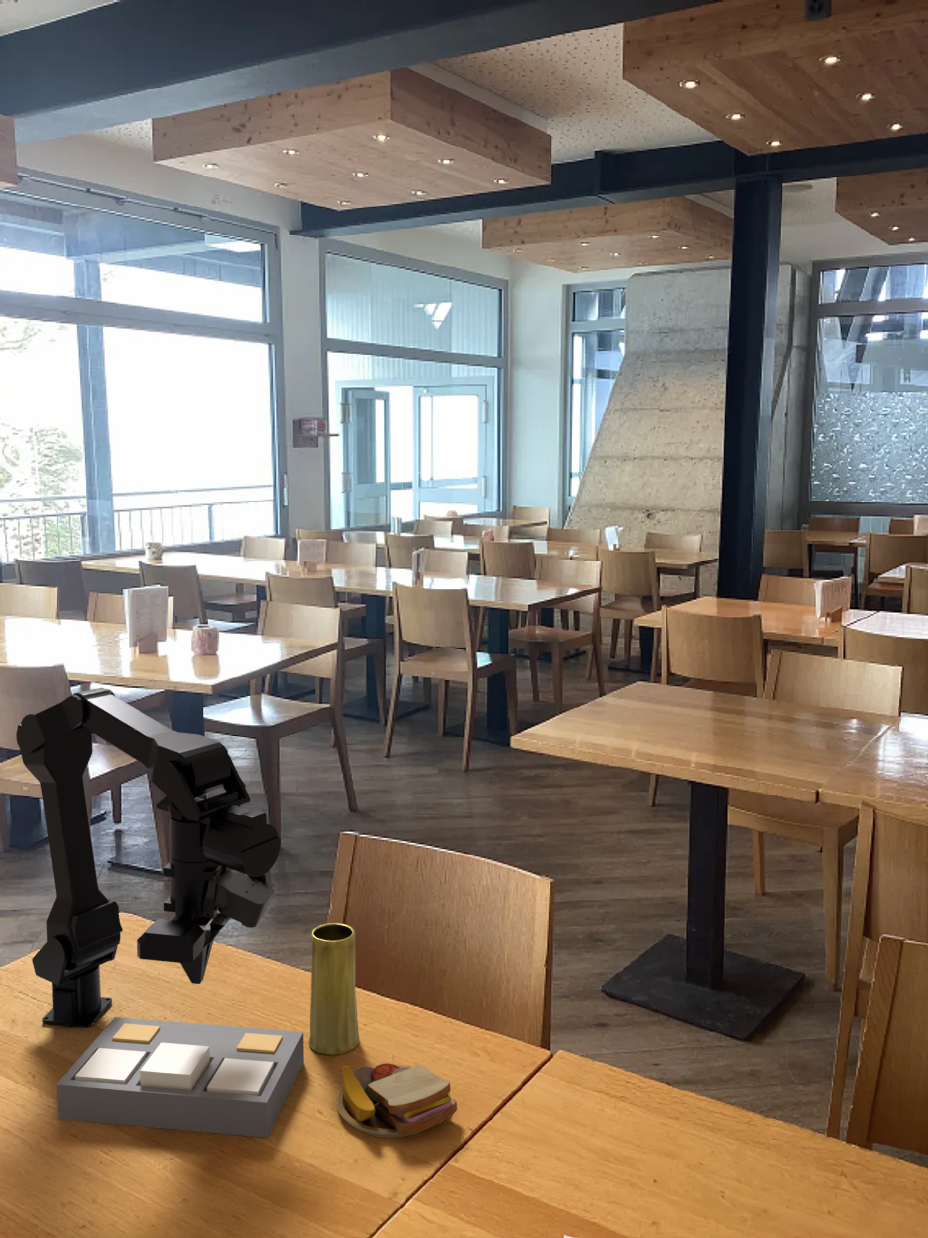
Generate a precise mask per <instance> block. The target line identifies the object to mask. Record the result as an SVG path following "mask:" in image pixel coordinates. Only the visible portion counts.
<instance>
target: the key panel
mask: <svg viewBox="0 0 928 1238" xmlns="http://www.w3.org/2000/svg"><path fill="white" fill-rule="evenodd" d="M160 1043H173V1044H185V1045H198V1046H209V1055H210V1065H209V1066H208V1068H207V1069H206V1071H205V1072H204V1074H203V1076H202V1077H201V1079H200V1080H199V1082H198V1083H197V1085H196V1087H195V1088H194V1090H182V1089H170V1088H158V1087H147V1086H141V1082H140V1070H141V1069H142V1068H143V1066H144V1065H145V1064H146V1062H147V1061H148V1060H149V1058H150V1057H151V1056H152V1054H153V1053H154V1052H155V1050H156V1049H157V1047H158V1046H159V1045H160ZM98 1048H106V1049H119V1050H131V1051H143V1052H146V1060H145V1061H144V1062H143V1064H142V1065H141V1066H140V1068H139V1069H138V1070H137V1072H136V1073H135V1074H134V1075H133V1077H132V1078H131V1079H130V1081H129V1082H128V1083H127V1085H123V1084H112V1083H100V1082H88V1081H77V1080H75V1076H76V1074H77V1073H78V1072H79V1071H80V1070H81V1068H82V1067H83V1066H84V1065H85V1064H86V1063H87V1061H88V1060H89V1059H90V1058H91V1057H92V1056H93V1054H94V1053H95V1052H96V1051H97V1050H98ZM304 1050H305V1049H304V1031H300V1030H299V1031H296V1030H286V1029H273V1028H272V1029H271V1028H261V1027H248V1026H233V1025H222V1024H221V1025H219V1024H207V1023H193V1022H185V1021H171V1020H157V1019H143V1018H133V1017H132V1018H131V1017H117V1016H114V1018H113V1019H111V1021H110V1022H109V1023H108V1024H107V1026H106V1027H105V1028H104V1029H102V1031H101V1032H100V1034H98V1036H97V1037H96V1038H95V1039H94V1041H93V1042H92V1043H90V1045H89V1047H87V1048H86V1050H85V1051H84V1052H83V1053H82V1054H81V1056H80V1057H79V1058H78V1059H77V1060H76V1061H75V1063H74V1064H73V1065H71V1067H70V1068H69V1069H68V1071H67V1072H65V1074H64V1075H63V1076H62V1077H61V1079H60V1080H58V1082H57V1083H56V1085H55V1086H56V1103H57V1104H56V1105H57V1119H58V1120H68V1121H78V1122H89V1123H101V1124H109V1125H110V1124H113V1125H121V1126H131V1127H132V1126H133V1127H134V1126H135V1127H145V1128H154V1129H155V1128H156V1129H166V1130H167V1129H168V1130H178V1131H187V1132H188V1131H190V1132H200V1133H211V1134H213V1133H214V1134H221V1135H234V1136H244V1137H255V1138H266V1139H267V1138H268V1137H269V1136H270V1134H271V1131H272V1129H273V1127H274V1125H275V1124H276V1121H277V1119H278V1118H279V1115H280V1113H281V1112H282V1109H283V1107H284V1106H285V1105H284V1104H285V1103H286V1100H287V1099H288V1097H289V1094H290V1092H291V1090H292V1089H293V1087H294V1084H295V1082H296V1081H297V1078H298V1076H299V1074H300V1072H301V1069H302V1068H303V1066H304V1063H305V1062H304V1061H305V1059H304V1057H305V1053H304ZM225 1058H230V1059H242V1060H254V1061H267V1062H274V1072H273V1074H272V1075H271V1077H270V1079H269V1081H268V1083H267V1085H266V1087H265V1089H264V1091H263V1092H262V1094H261V1096H252V1095H240V1094H228V1093H217V1092H207V1086H208V1085H209V1083H210V1082H211V1080H212V1078H213V1077H214V1075H215V1074H216V1072H217V1070H218V1069H219V1067H220V1066H221V1064H222V1062H223V1061H224V1059H225Z"/></svg>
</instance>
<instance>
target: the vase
mask: <svg viewBox="0 0 928 1238" xmlns="http://www.w3.org/2000/svg"><path fill="white" fill-rule="evenodd" d="M310 934H311V935H310V939H311V940H310V942H311V945H310V946H311V948H310V949H311V953H310V954H311V956H310V957H311V959H310V960H311V963H310V965H311V967H310V969H311V971H310V972H311V975H310V1006H309V1008H310V1009H309V1038H308V1045H309V1047H310V1048H311V1049H312V1050H313V1051H314V1052H316V1053H319V1054H322V1055H325V1056H326V1055H327V1056H337V1055H342V1054H345V1053H349V1052H350V1051H352V1050H353V1049H355V1048H356V1047H357V1045H358V1044H359V1042H360V1035H359V1022H358V1008H357V1005H358V1004H357V996H356V995H357V994H356V974H357V973H356V931H355V929H354V927H352V926H350V925H349V924H346V923H341V922H329V923H324V924H320V925H317V926H316V927H314V928H313V929H312V931H311V933H310Z"/></svg>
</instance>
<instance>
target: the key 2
mask: <svg viewBox="0 0 928 1238" xmlns="http://www.w3.org/2000/svg"><path fill="white" fill-rule="evenodd" d="M273 1072H274V1062H267V1061H254V1060H242V1059H230V1058H225V1059H224V1061H223V1062H222V1064H221V1066H220V1067H219V1069H218V1070H217V1072H216V1074H215V1075H214V1077H213V1078H212V1080H211V1082H210V1083H209V1085H208V1086H207V1092H217V1093H228V1094H240V1095H252V1096H261V1094H262V1092H263V1091H264V1089H265V1087H266V1085H267V1083H268V1081H269V1079H270V1077H271V1075H272V1074H273Z"/></svg>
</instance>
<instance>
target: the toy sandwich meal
mask: <svg viewBox="0 0 928 1238" xmlns="http://www.w3.org/2000/svg"><path fill="white" fill-rule="evenodd" d="M450 1093H451V1082H450V1081H449V1080H446V1079H443V1078H441V1077H440V1076H439V1075H437V1074H435V1073H434V1072H433V1071H432V1070H430V1069H428V1068H427V1067H425V1066H424V1065H422V1064H417V1065H414V1066H407V1065H397V1064H394V1063H390V1062H388V1063H380V1064H378V1065H376V1066H375V1067H371V1066H361V1067H358V1068H356V1069H354V1070H353V1071H352V1069H351V1068H350V1066H349V1065H344V1066H343V1067H342V1086H341V1088H340V1089H339V1091H338V1093H337V1096H336V1103H335V1104H336V1108H337V1111H338V1113H339V1114H340V1116H341V1117H342V1119H343V1120H344V1121H345V1122H347V1124H349V1125H350V1126H351V1127H354V1128H355V1129H356V1130H358V1131H360V1132H361V1133H365V1134H367V1135H371V1136H373V1137H380V1138H401V1137H408V1136H412V1135H415V1134H417V1133H421V1132H423V1131H425V1130H427V1129H429V1128H432V1127H434V1126H436V1125H438V1124H441V1123H442V1122H444V1121H446V1120H447V1119H449V1118H450V1117H452V1116H453V1115H454V1114H455V1113H456V1112H457V1110H458V1104H457V1103H458V1102H457V1100H456V1099H453V1098H451V1094H450Z"/></svg>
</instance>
